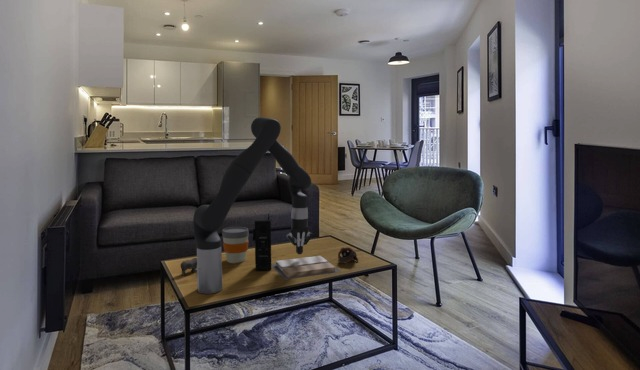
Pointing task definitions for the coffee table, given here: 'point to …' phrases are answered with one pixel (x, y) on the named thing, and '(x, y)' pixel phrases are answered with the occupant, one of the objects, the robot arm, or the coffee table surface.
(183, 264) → the rhino figurine
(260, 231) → the portable radio
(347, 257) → the pottery mug
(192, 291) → the coffee table surface
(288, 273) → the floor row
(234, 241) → the reusable coffee cup
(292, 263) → the plank
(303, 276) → the underlay mat
